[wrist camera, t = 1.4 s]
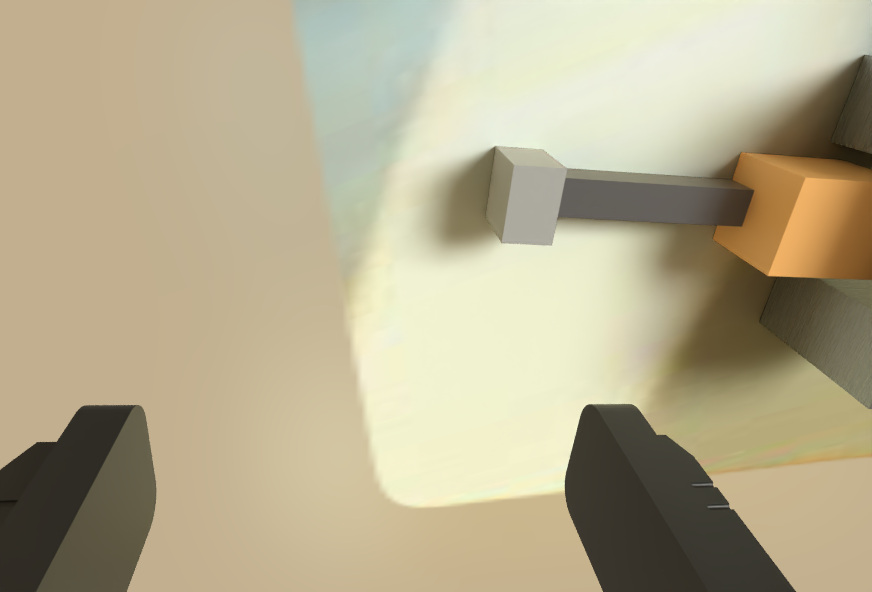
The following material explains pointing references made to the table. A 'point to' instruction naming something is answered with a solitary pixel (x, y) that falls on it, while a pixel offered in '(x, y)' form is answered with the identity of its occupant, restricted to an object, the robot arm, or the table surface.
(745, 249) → the plug
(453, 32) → the table surface
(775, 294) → the housing
